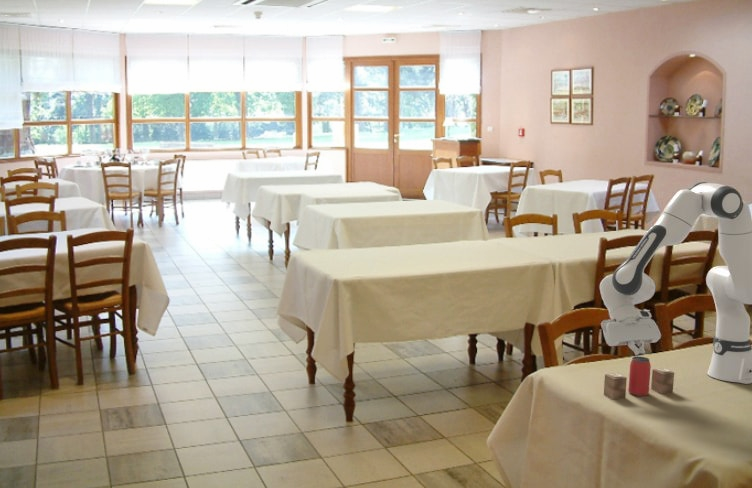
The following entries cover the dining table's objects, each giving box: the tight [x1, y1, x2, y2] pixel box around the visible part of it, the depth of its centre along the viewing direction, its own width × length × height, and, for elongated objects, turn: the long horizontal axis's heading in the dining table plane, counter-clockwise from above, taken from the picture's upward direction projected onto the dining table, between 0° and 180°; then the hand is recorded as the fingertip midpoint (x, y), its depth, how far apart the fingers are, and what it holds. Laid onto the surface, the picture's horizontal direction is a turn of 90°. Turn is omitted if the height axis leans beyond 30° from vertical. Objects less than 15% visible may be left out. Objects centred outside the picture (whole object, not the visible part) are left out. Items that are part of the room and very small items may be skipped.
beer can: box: [627, 356, 652, 397], centre depth 297 cm, size 7×7×12 cm
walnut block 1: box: [603, 372, 627, 400], centre depth 294 cm, size 5×5×7 cm
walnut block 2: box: [650, 367, 675, 395], centre depth 301 cm, size 5×5×7 cm
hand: (640, 354), depth 296 cm, fingers closed
